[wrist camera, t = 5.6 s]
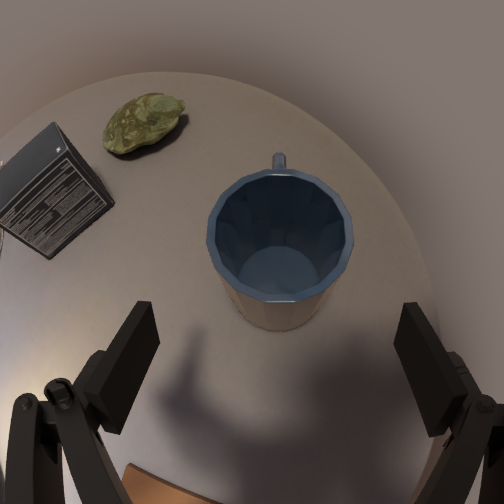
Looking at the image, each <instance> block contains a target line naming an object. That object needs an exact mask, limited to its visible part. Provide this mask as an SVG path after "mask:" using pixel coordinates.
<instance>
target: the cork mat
mask: <svg viewBox="0 0 504 504" xmlns="http://www.w3.org/2000/svg"><path fill="white" fill-rule="evenodd" d="M121 482H122V484H123V486H124V488H125V490H126V492H127V494H128V495H129V497H130V499H131V501H132V503H133V504H221V503H218V502H215V501H213V500H210V499H207V498H205V497H202V496H200V495H197V494H195V493H192V492H190V491H187V490H185V489H183V488H180V487H178V486H176V485H173V484H171V483H169V482H167V481H165V480H163V479H160V478H158V477H156V476H154V475H152V474H150V473H148V472H146V471H144V470H142V469H140V468H138V467H137V466H135V465H133V464H131V463H129V464H128V465H127V466H126V469H125V472H124V475H123V478H122V481H121Z"/></svg>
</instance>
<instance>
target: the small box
mask: <svg viewBox="0 0 504 504" xmlns="http://www.w3.org/2000/svg"><path fill="white" fill-rule="evenodd" d="M113 205H114V200H113V199H112V198H111V197H110V196H109V194H108V192H107V191H106V189H105V188H104V185H103V184H102V183H101V180H100V179H99V177H98V176H97V175H96V173H95V172H94V171H93V170H92V169H91V167H90V166H89V165H88V164H87V162H86V161H85V160H84V159H83V157H82V156H81V155H80V154H79V152H78V151H77V150H76V148H75V147H74V146H73V145H72V143H71V142H70V141H69V139H68V138H67V137H66V135H65V134H64V133H63V131H62V130H61V129H60V127H59V126H58V125H57V123H56V122H55V121H53V122H52V123H51V124H50V125H48V126H47V127H46V128H45V129H44V130H42V131H41V132H40V133H39V134H38V135H37V136H35V137H34V138H33V139H32V140H31V141H30V142H29V143H28V144H26V145H25V146H24V147H23V148H22V149H21V150H20V151H19V152H18V153H17V154H16V155H15V156H14V157H12V158H11V159H10V160H9V161H8V162H7V163H6V164H5V165H4V166H3V167H2V168H1V169H0V228H2V229H3V230H5V231H6V232H8V233H9V234H11V235H12V236H14V237H15V238H16V239H18V240H19V241H21V242H22V243H24V244H25V245H27V246H28V247H30V248H32V249H33V250H34V251H36V252H38V253H40V254H41V255H42V256H44V257H45V258H46V259H48V260H50V259H51V258H52V257H53V256H54V255H56V254H57V253H58V252H59V251H60V250H61V249H62V248H63V247H64V246H65V245H67V244H68V243H69V242H70V241H71V240H72V239H73V238H75V237H76V236H77V235H78V234H79V233H80V232H81V231H83V230H84V229H85V228H86V227H87V226H88V225H90V224H91V223H92V222H93V221H94V220H96V219H97V218H98V217H99V216H101V215H102V214H103V213H104V212H105V211H107V210H108V209H109V208H110V207H111V206H113Z"/></svg>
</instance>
